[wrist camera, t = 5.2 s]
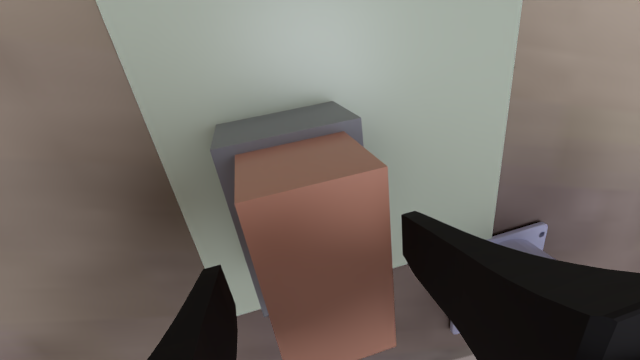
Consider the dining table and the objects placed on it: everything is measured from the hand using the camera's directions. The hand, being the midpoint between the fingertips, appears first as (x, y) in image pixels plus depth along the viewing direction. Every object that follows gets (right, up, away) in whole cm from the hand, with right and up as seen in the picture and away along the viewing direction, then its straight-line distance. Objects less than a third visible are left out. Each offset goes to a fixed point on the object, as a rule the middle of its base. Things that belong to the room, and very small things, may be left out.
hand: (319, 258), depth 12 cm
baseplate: (+2, +6, +5) cm, 8 cm away
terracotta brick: (-1, +1, +2) cm, 2 cm away
